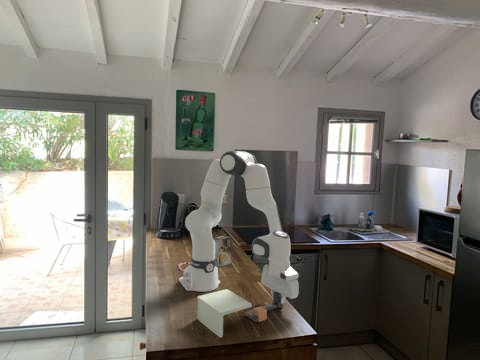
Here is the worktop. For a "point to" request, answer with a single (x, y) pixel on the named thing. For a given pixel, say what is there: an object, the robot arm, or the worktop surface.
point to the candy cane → (182, 264)
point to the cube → (260, 313)
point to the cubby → (218, 308)
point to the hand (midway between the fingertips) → (278, 301)
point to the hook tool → (266, 307)
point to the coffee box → (222, 250)
